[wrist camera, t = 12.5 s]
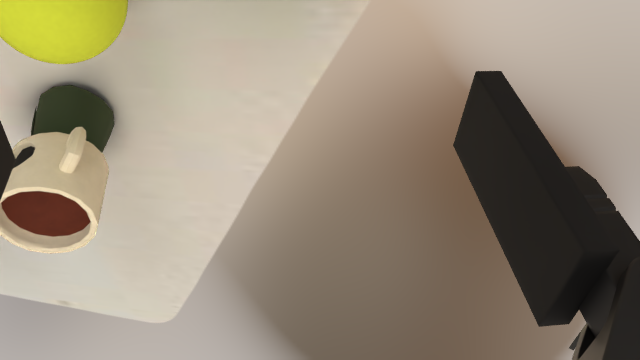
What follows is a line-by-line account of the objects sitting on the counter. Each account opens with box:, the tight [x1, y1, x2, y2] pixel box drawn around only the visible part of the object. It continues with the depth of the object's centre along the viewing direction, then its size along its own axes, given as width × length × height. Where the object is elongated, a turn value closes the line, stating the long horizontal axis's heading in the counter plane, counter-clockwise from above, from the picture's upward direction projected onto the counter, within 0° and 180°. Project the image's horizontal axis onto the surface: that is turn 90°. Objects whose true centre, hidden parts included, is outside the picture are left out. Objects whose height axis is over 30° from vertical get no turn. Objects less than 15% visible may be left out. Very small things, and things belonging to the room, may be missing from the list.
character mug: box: [0, 85, 114, 254], centre depth 44 cm, size 11×7×13 cm, turn 146°
